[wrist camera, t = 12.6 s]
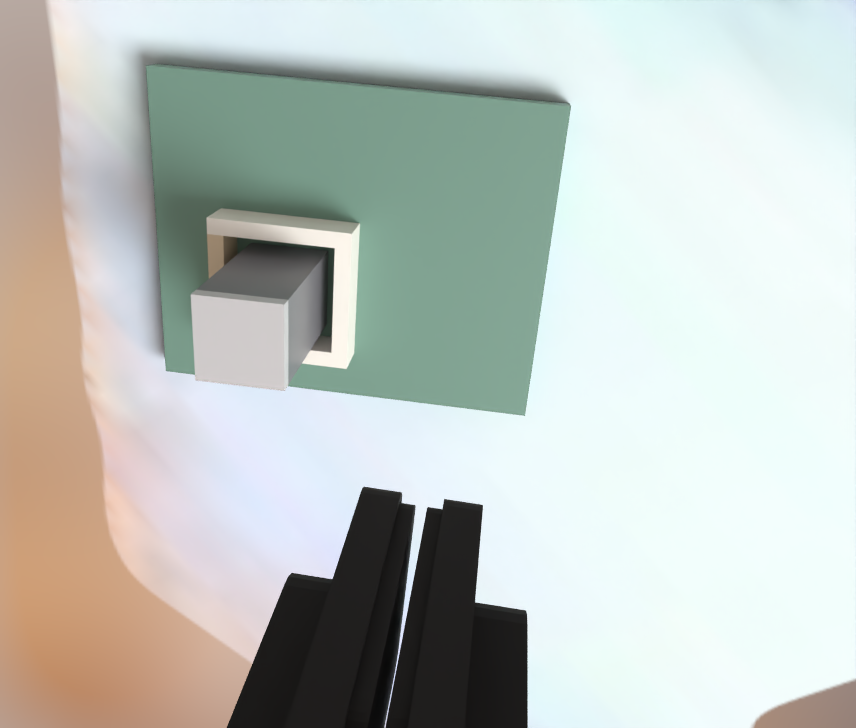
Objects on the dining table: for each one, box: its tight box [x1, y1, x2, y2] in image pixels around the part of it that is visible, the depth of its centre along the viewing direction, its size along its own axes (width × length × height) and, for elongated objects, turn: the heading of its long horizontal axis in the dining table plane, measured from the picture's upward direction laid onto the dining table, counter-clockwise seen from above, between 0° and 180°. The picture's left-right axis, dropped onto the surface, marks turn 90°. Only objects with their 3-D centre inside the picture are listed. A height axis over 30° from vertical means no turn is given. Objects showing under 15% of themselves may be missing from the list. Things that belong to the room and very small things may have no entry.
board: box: [146, 64, 571, 416], centre depth 40 cm, size 16×20×3 cm
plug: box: [191, 243, 328, 391], centre depth 37 cm, size 4×4×8 cm
